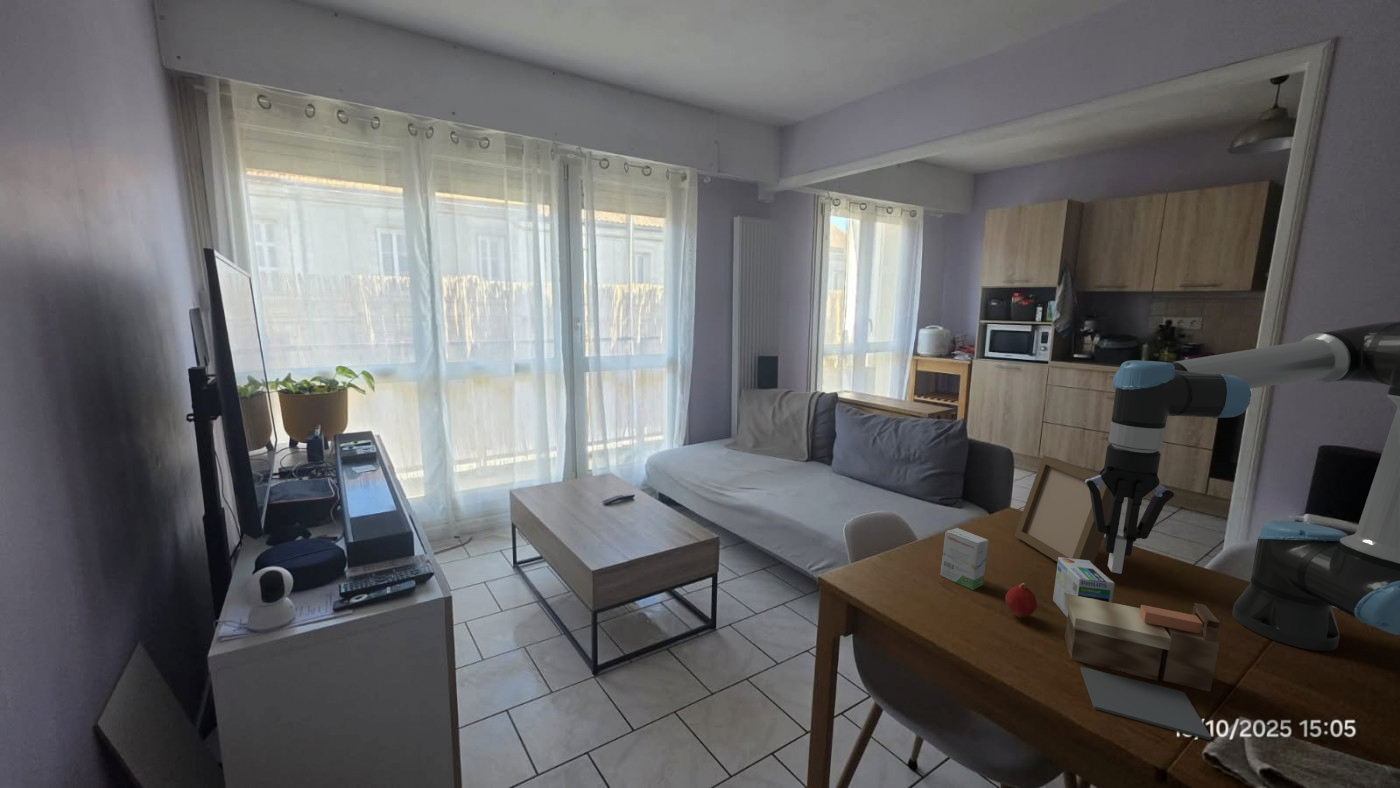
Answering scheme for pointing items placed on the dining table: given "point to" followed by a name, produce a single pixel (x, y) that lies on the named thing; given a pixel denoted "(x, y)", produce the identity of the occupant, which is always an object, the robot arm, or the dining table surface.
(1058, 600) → the light bulb box
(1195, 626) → the orange rectangular block
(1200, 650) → the wooden box
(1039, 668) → the dining table surface
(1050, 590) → the dining table surface
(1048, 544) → the photo frame
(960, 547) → the ink box
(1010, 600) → the onion
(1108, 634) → the lid
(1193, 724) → the mat
